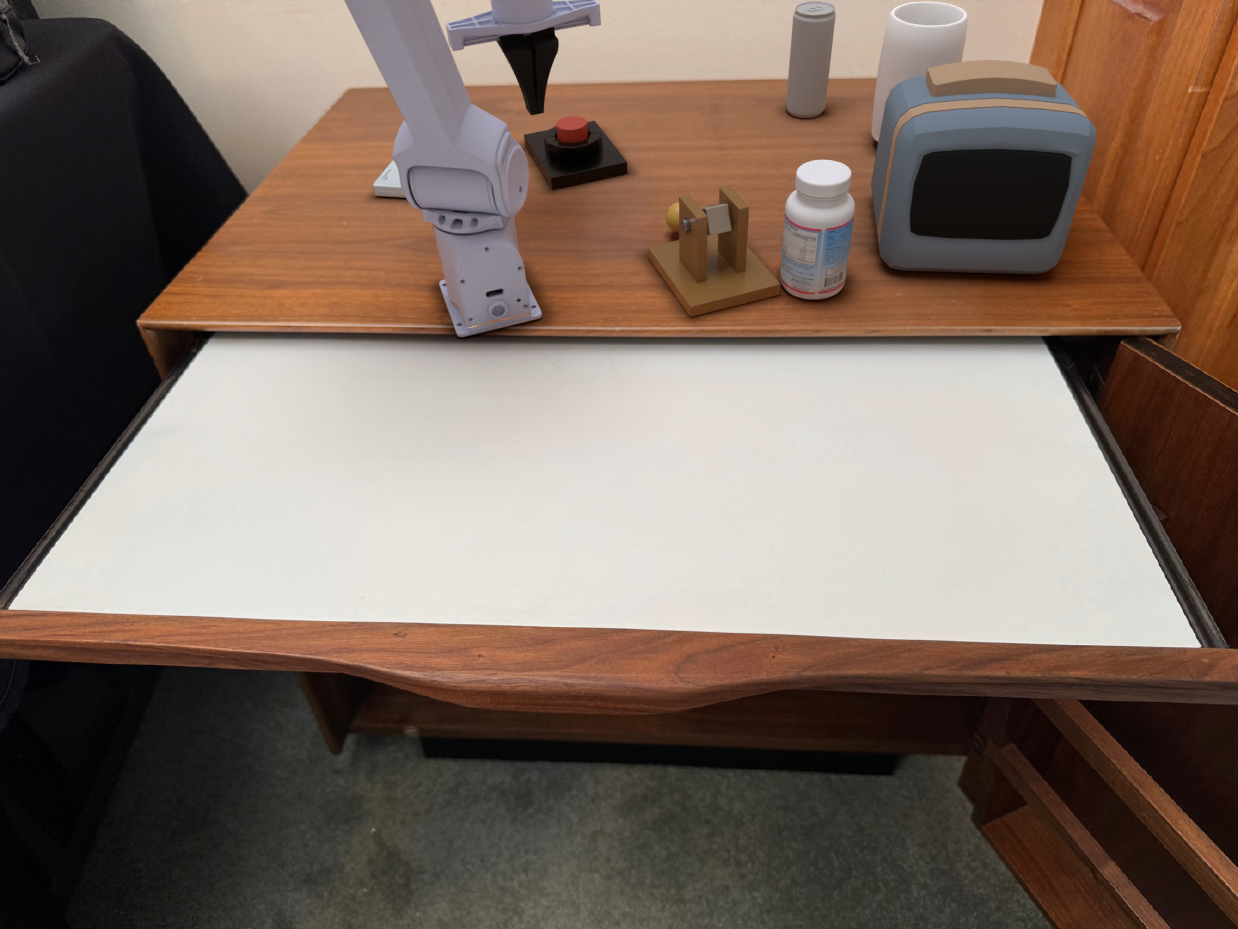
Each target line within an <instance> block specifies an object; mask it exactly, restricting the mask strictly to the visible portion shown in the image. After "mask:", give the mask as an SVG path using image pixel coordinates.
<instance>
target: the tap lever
mask: <svg viewBox="0 0 1238 929" xmlns="http://www.w3.org/2000/svg"><path fill="white" fill-rule="evenodd" d="M699 207H700V208H701V209H702V210H703V212H704V213H705V214H706V215H707V216H708V222H707V235H709V236H711V235H715V234H719V233H724V232H728V231H731V230H732V229H731V222H730V215H729V208H728V204H719V203H713V204H708V205H704V206H699ZM665 223H666V225H667V227H668V228H669V229H670V230H671V231H673V232H674V233H678V234H679V201H678V202H674V203H673V204H671V205H670V206H669V207H668V209H667V210H666V212H665Z"/></svg>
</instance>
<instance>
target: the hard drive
mask: <svg viewBox="0 0 1238 929" xmlns="http://www.w3.org/2000/svg"><path fill="white" fill-rule="evenodd" d="M372 188H373V194H374V196H376V197H390V198H404V199H406V197H405V195H404V193H403V191H402V188H401V184H400V177H399V172H398V168H397V166H396V164H395V162H394V160H393V159H392V160H391V162H390V163H389V164H388V165H387V166H386V168H384V170H383V172H382V173H381V174H380V175H379V176H378V177H377V179H376V180H375V181H374V182H373V184H372Z"/></svg>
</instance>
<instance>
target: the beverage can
mask: <svg viewBox="0 0 1238 929" xmlns="http://www.w3.org/2000/svg"><path fill="white" fill-rule="evenodd" d="M835 24H836V6H835V5H834V4H833V3H830V2H827V1H821V0H820V1H819V0H812V1H809V0H808V1H804V2H800V3H798V4H797V5H796V6H795V7H794V12H793V15H792V25H791V26H792V27H791V38H790V39H791V40H790V52H789V64H788V76H787V78H788V79H787V88H786V100H785V101H786V102H785V108H786V111H787V112H788V113H789V114H790V115H791V116H793V117H795V118H800V119H812V118H816V117H818V116H820V115H821V114H822V113H823V112H824V110H825V109H826V104H827V96H828V87H829V86H828V85H829V77H830V68H831V60H832V53H833V52H832V51H833V44H834V43H833V42H834V34H835Z"/></svg>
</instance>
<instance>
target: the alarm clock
mask: <svg viewBox="0 0 1238 929" xmlns="http://www.w3.org/2000/svg"><path fill="white" fill-rule="evenodd" d="M1096 143H1097V128H1096V126H1095V125H1094V123H1093V122H1092V121H1091V119H1090V118H1089V117H1088V115H1087V114H1086V113H1085V112H1084V110H1083V109H1082V107H1080V106H1079V105H1078V103H1077V102H1076V101H1075V100H1074V98H1073V97H1072V96H1071V95H1070V94H1069V92H1068V91H1067V90H1066V88H1065V87H1064V86H1063V85H1062V84H1061V83H1060V82H1058V81H1056V79H1055V78H1054V77H1053V76H1052V74H1051V73H1050V71H1049V70H1048V69H1047V68H1046V67H1044V66H1038V65H1035V64H1030V63H1026V62H1019V61H1013V60H1012V61H1011V60H1001V59H999V60H996V59H980V60H966V61H965V60H964V61H962V62H957V63H950V64H945V65H940V66H935V67H931V68H928V69H927V75H926V76H922V77H913V78H909V79H907V80H904V81H901V82H900V83H899V84H897V85H896V86H895V87H894V88H892V89H891V91H890V94H889V96H888V98H887V100H886V103H885V108H884V114H883V119H882V125H881V130H880V136H879V141H877V147H876V153H875V159H874V165H873V170H872V175H871V181H870V189H871V196H872V204H873V211H874V218H875V226H876V233H877V241H878V249H879V256H880V257H881V260H882V261H883V262H884V263H885V264H886V265H887V266H888V267H889V268H890V269H894V270H898V271H906V272H908V271H909V272H939V273H968V274H969V273H974V274H1005V275H1006V274H1007V275H1039V274H1043V273H1044V274H1045V273H1046V272H1048V271H1049V270H1051V269H1053V268H1054V267H1056V266H1057V264H1058V263H1059V262H1060V260H1061V258H1062V256H1063V252H1064V250H1065V246H1066V243H1067V239H1068V236H1069V233H1070V230H1071V226H1072V224H1073V219H1074V217H1075V213H1076V210H1077V206H1078V203H1079V200H1080V196H1081V194H1082V190H1083V188H1084V183H1085V180H1086V177H1087V174H1088V171H1089V167H1090V165H1091V162H1092V158H1093V154H1094V151H1095V148H1096Z"/></svg>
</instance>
